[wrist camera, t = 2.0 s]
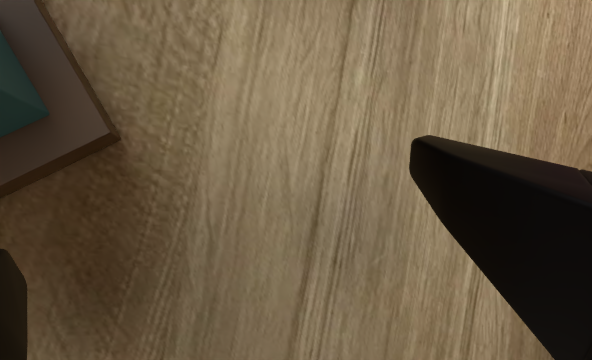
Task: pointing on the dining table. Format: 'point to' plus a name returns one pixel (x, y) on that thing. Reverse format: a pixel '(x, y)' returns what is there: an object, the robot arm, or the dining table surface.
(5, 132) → the teal toy block
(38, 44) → the walnut base block
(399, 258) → the dining table surface
